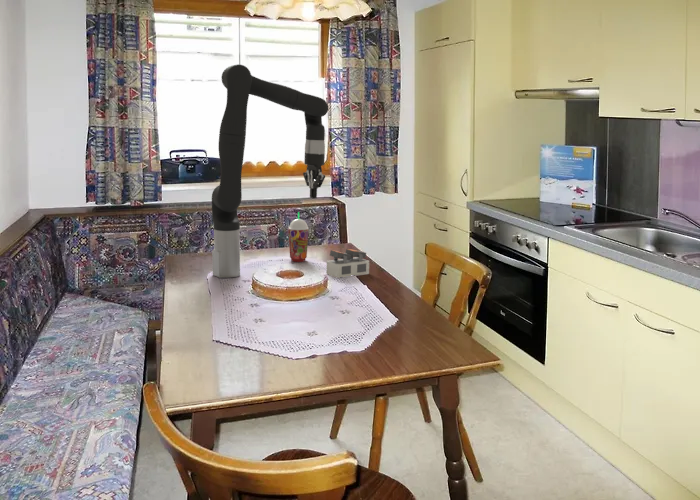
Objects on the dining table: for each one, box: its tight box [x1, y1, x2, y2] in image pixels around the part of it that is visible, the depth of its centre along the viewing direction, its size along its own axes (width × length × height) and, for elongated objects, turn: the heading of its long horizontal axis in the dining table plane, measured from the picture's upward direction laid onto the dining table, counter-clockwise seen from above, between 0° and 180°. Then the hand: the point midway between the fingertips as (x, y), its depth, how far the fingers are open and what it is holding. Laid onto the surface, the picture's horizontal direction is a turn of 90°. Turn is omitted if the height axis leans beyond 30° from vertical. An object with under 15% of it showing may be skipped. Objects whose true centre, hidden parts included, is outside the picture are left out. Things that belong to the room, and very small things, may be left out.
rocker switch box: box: [325, 254, 370, 279], centre depth 257 cm, size 14×8×8 cm, turn 125°
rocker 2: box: [345, 248, 367, 259], centre depth 258 cm, size 6×5×2 cm
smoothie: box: [287, 211, 310, 263], centre depth 278 cm, size 8×8×20 cm
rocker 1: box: [329, 249, 351, 260], centre depth 254 cm, size 6×5×2 cm
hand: (313, 198), depth 259 cm, fingers closed
